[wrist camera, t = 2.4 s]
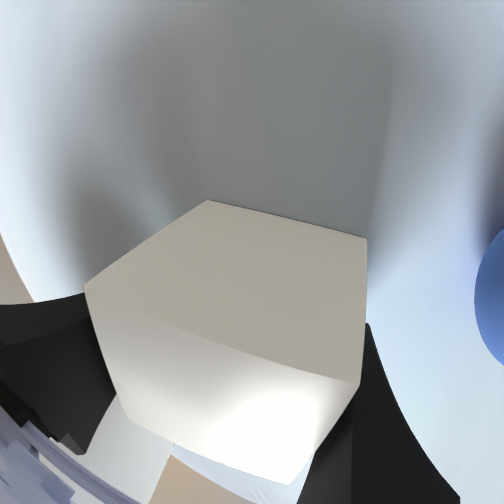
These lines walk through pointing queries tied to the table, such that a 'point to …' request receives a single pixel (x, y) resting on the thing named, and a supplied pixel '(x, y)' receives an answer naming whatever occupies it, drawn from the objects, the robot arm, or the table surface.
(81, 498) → the foam cup
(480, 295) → the ball
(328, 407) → the white cubic block
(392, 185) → the table surface
